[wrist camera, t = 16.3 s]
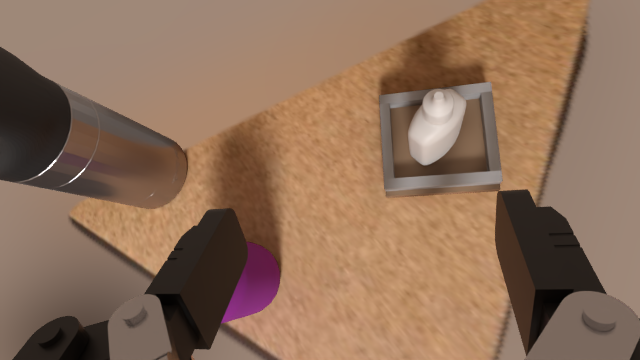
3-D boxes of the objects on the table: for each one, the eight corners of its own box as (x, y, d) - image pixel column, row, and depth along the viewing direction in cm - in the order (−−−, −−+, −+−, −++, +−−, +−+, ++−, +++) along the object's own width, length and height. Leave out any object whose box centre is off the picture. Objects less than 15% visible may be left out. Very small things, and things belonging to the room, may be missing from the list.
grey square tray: (387, 197, 43) (384, 193, 41) (381, 100, 45) (378, 90, 43) (498, 191, 41) (503, 186, 38) (486, 88, 43) (490, 77, 40)
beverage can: (264, 326, 44) (208, 348, 32) (207, 294, 46) (136, 304, 35) (294, 260, 44) (249, 259, 33) (237, 231, 47) (176, 221, 35)
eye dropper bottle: (401, 132, 43) (393, 84, 32) (453, 113, 42) (464, 56, 31) (415, 170, 42) (412, 135, 30) (469, 151, 41) (487, 107, 29)
